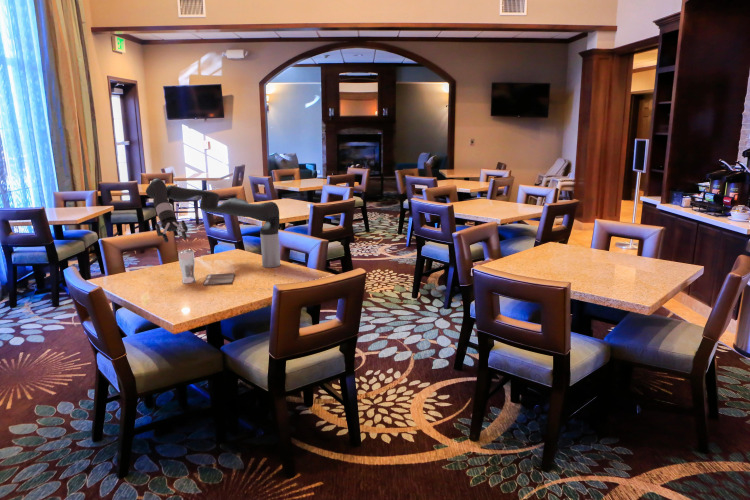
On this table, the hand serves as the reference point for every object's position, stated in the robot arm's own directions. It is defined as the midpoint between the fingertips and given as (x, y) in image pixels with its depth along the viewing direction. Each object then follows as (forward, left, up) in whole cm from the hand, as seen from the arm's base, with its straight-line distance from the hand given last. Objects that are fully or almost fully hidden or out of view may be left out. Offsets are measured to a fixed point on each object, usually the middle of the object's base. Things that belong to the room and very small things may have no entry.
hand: (176, 240), depth 262 cm
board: (+10, +20, -18) cm, 29 cm away
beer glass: (+10, +6, -19) cm, 22 cm away
